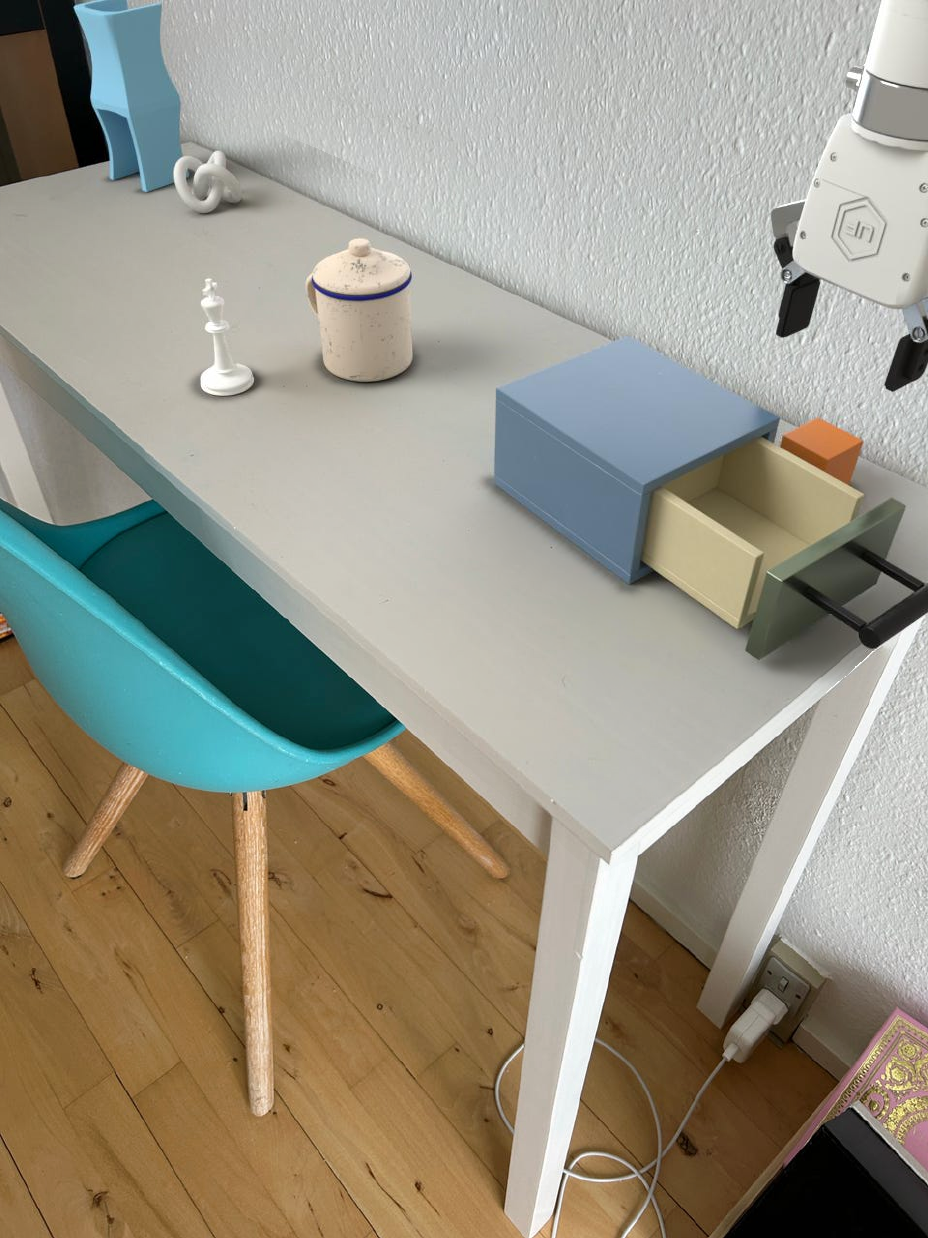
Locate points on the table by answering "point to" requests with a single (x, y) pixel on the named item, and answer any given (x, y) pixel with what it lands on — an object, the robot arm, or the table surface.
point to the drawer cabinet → (613, 442)
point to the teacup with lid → (363, 312)
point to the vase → (133, 90)
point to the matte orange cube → (825, 448)
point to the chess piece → (221, 351)
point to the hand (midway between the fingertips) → (843, 356)
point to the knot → (206, 182)
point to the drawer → (776, 546)
